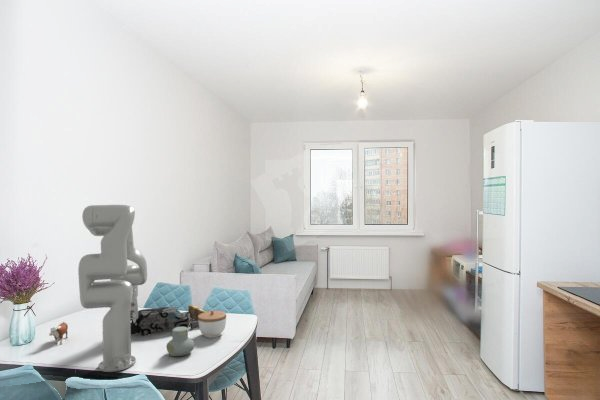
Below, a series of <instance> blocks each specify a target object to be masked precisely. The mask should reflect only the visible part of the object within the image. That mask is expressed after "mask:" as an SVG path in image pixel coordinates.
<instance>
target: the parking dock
mask: <svg viewBox="0 0 600 400" xmlns="http://www.w3.org/2000/svg"><path fill="white" fill-rule="evenodd" d="M184 312H185V311H183V312H182V313H184ZM187 312H188V313H190V319H191V318H192V319H191V320H193V319H194V320H193V321H190V323H191V326H190V329H191V330H195V329H199V324H198V315H199V314H201V313H204V312H207V311H206V310H204V309H202V308H200V307H198V306H195V305H193V304H189V305H188V311H187Z"/></svg>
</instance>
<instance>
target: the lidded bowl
mask: <svg viewBox="0 0 600 400" xmlns="http://www.w3.org/2000/svg"><path fill="white" fill-rule="evenodd" d="M226 323H227V313H226V312H225V311H222V310H221V311H220V310H213V309H211V310H210V311H206V312H204V313H201V314H199V315H198V324H199V328H198V329H199V331H200V333H201V334H202V335H203V336H204V337H205V338H207V339H208V338H210V339H211V338H217V337H220V336H221V334H222V333H223V331H225V328H226Z"/></svg>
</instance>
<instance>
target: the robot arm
mask: <svg viewBox="0 0 600 400" xmlns="http://www.w3.org/2000/svg"><path fill="white" fill-rule="evenodd" d="M135 213H136V211H135V209H134V207H133V206H131V205H127V204H98V205H97V204H92V205H91V204H90V205H88V206H86V207H85V208H84V209H83V211H82V221H83V225H84V226H85V228H86V229H87V230H88V231H89V233H90V234H91V235H93V236H95V237H102V238H101V240H100V253H89V254H86V255H83V256H82V257H81V258H80V260H79V263H78V269H77V270H78V271H77V272H78V273H77V274H78V285H79V286H78V287H79V289H78V290H79V301H80V305H81V306H82V308H84V309H102V308H110V309H109V310H108V311H107V312H106V313H105V315H104V316H103V318H102V361H100V362H99V363H98V370H99V371H100V372H106V373H113V372H115V373H116V372H120V371H124V370H126V369H129V368H131V367H132V366H134V365H135V364H136V361H137V358H136V357H135V356H133V355H132V336H133V335H137V334H138V333H137V326H136V325H137V323H136V322H137V321H136V319H138V311H139V305H138V299H137V298H138V297H139V287H138V286H142V285H145V283H147V280H148V266H147V261H146V259H145V257H144V255H143V254H142V253H141V252H140V251H139V250H138V249H137V248H136V247H134V235H133V224H134V220H135ZM128 261H131V262H133V263H134V264H136V265H137V266H138V267H137V266H136V265H133V264H132V265H130V264H129V265H128ZM102 280H103V281H102ZM104 280H105V281H104Z"/></svg>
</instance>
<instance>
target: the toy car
mask: <svg viewBox="0 0 600 400" xmlns="http://www.w3.org/2000/svg"><path fill="white" fill-rule="evenodd" d="M183 312H184V313H183ZM183 312H181V311H180V310H178V309H177V308H176V307H175V306H169V307H168V306H167V307H165V306H162V307H154V308H144V309H138V319H136V321H137V322H136V323H137V325H136V326H137V333H136V334H140V333H141V336H143V337H144V336H150V335H151V334H152V333H154V332H155V333H156V332H162V331H172V330H173V329H174V328H176V327H187V328H188V329H189V328H191V318H190V313H188V311H183Z"/></svg>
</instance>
